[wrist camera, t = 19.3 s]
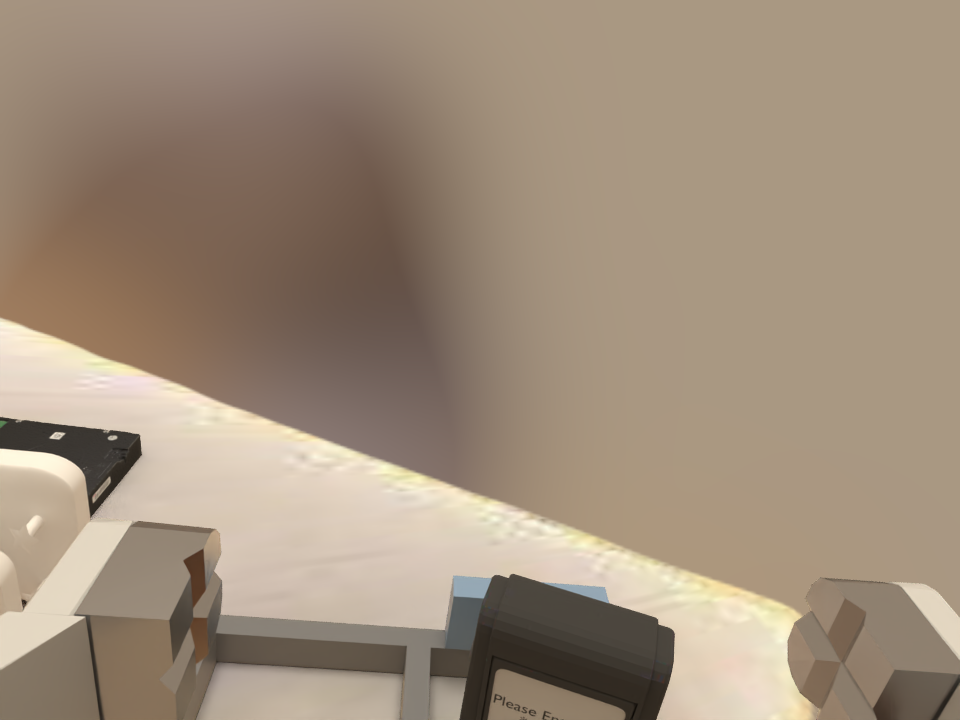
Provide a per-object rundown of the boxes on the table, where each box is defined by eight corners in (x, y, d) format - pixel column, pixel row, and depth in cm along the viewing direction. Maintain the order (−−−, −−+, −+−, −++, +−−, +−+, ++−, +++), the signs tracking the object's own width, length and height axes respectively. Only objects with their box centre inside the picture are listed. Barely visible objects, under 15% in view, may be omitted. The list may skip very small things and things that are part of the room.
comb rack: (102, 884, 33) (86, 790, 30) (201, 637, 47) (197, 555, 44) (681, 904, 36) (719, 819, 33) (618, 665, 49) (641, 590, 46)
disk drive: (143, 458, 64) (-24, 438, 63) (142, 432, 63) (-29, 411, 62) (87, 531, 55) (-112, 509, 54) (84, 502, 54) (-119, 479, 53)
